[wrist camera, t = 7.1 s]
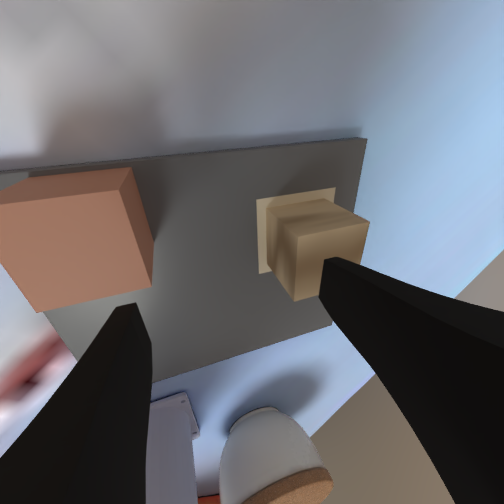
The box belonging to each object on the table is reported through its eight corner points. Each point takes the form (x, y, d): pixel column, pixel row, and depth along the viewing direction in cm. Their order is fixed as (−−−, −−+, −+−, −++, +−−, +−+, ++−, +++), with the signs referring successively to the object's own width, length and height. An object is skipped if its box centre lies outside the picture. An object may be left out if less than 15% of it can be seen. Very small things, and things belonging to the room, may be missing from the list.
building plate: (326, 318, 26) (331, 325, 25) (106, 387, 20) (103, 399, 20) (357, 137, 17) (367, 138, 16) (-35, 174, 11) (-51, 179, 10)
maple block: (318, 251, 19) (355, 284, 16) (266, 263, 18) (293, 301, 14) (324, 198, 17) (370, 221, 13) (265, 208, 16) (298, 236, 12)
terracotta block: (153, 243, 14) (151, 286, 11) (70, 258, 13) (36, 313, 10) (131, 166, 12) (118, 189, 8) (28, 177, 11) (-39, 209, 7)
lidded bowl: (236, 394, 27) (273, 531, 18) (311, 392, 34) (367, 495, 25) (194, 455, 31) (207, 593, 22) (268, 443, 37) (303, 548, 28)
